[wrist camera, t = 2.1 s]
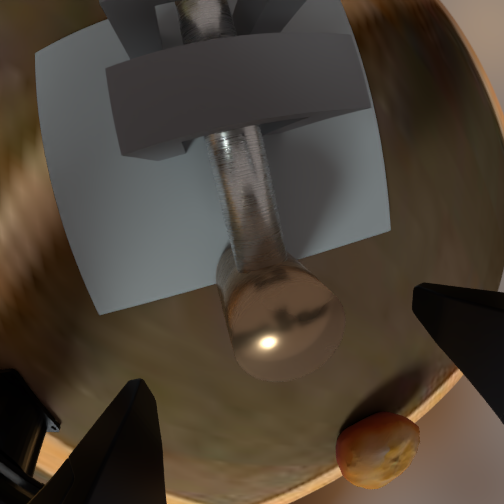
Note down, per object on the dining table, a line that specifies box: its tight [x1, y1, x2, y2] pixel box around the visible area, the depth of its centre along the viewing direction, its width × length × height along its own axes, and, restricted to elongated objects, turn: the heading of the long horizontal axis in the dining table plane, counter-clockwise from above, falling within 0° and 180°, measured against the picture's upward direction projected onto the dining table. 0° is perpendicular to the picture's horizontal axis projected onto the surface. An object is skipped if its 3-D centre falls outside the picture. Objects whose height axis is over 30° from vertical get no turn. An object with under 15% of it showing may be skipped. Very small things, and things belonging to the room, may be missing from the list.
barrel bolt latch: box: [35, 0, 391, 315], centre depth 8 cm, size 14×16×8 cm
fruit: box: [336, 411, 420, 489], centre depth 19 cm, size 8×8×8 cm
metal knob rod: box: [175, 0, 346, 382], centre depth 8 cm, size 18×4×5 cm, turn 13°
